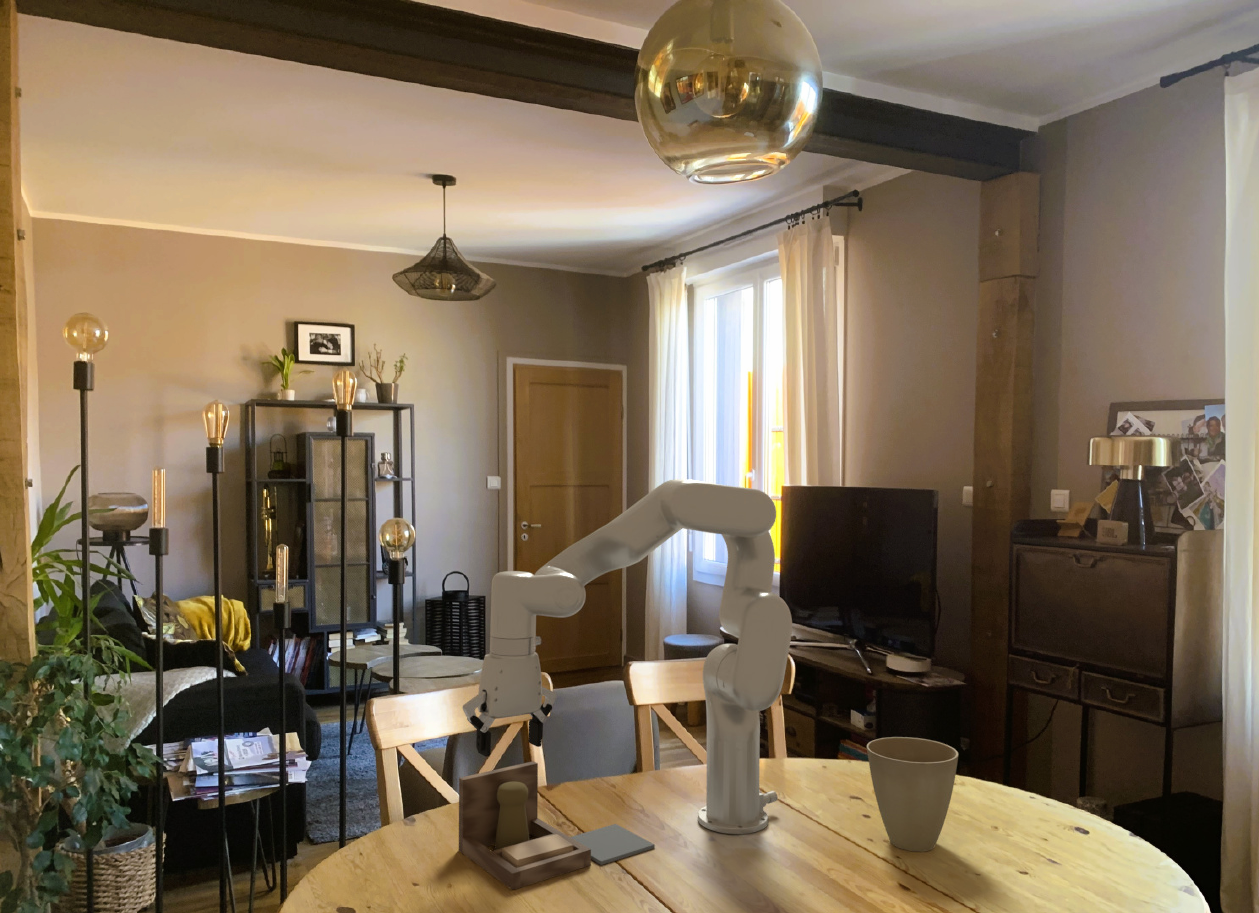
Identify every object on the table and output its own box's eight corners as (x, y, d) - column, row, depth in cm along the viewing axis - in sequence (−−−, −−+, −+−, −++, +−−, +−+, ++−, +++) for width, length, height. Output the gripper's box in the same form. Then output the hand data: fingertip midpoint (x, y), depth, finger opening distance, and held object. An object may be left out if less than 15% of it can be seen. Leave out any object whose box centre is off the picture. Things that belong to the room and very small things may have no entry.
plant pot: (972, 842, 155) (972, 748, 155) (934, 870, 144) (934, 769, 144) (891, 819, 165) (891, 731, 166) (850, 843, 154) (850, 749, 155)
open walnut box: (533, 829, 160) (533, 761, 160) (590, 865, 146) (591, 790, 146) (458, 850, 151) (459, 777, 151) (512, 890, 137) (512, 810, 137)
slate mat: (615, 827, 161) (615, 823, 161) (654, 848, 152) (654, 844, 152) (563, 842, 154) (563, 839, 154) (601, 865, 146) (601, 861, 146)
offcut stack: (556, 856, 150) (557, 834, 150) (573, 867, 145) (573, 845, 145) (501, 871, 144) (502, 848, 144) (516, 883, 140) (517, 860, 140)
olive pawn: (533, 843, 154) (534, 778, 154) (526, 859, 148) (526, 791, 148) (498, 842, 154) (499, 777, 155) (489, 857, 148) (490, 789, 149)
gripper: (544, 638, 160) (542, 736, 159) (455, 647, 149) (452, 752, 149) (568, 645, 154) (565, 747, 153) (476, 655, 143) (473, 764, 143)
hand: (509, 749), depth 151 cm, fingers open, 9 cm apart
